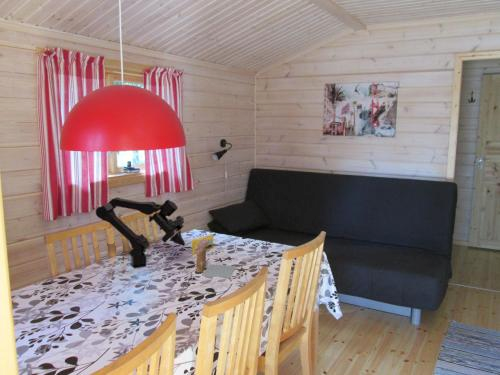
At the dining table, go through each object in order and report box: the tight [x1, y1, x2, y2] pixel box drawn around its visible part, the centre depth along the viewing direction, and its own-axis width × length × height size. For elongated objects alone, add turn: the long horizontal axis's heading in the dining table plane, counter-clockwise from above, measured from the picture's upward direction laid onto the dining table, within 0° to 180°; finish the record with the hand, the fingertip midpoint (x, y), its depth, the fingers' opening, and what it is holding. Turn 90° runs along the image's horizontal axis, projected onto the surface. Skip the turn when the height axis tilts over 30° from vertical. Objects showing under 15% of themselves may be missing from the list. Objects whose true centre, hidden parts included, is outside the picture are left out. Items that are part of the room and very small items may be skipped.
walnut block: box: [195, 249, 207, 273], centre depth 216 cm, size 3×7×10 cm, turn 172°
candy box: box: [191, 234, 214, 255], centre depth 248 cm, size 16×2×8 cm, turn 143°
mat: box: [201, 264, 237, 278], centre depth 216 cm, size 14×16×1 cm
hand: (184, 245), depth 216 cm, fingers closed
